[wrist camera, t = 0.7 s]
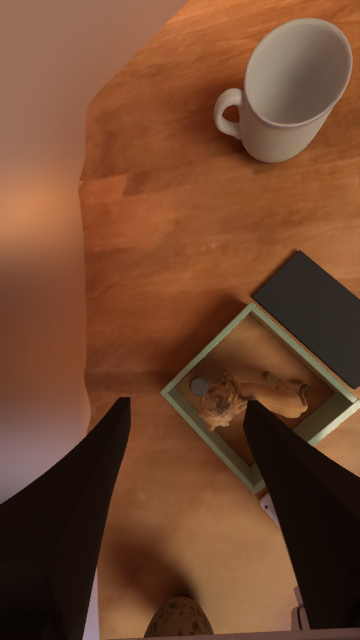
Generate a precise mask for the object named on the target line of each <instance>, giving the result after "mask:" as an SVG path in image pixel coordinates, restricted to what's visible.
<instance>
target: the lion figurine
mask: <svg viewBox="0 0 360 640" xmlns="http://www.w3.org/2000/svg"><path fill="white" fill-rule="evenodd" d="M222 376H223V379H225V380H221V379H220V380H218V381H217V383H213V384H212V385H211V386H210V387H209V389H208V390H206V391H205V394H204V395H203V397H201V398H200V401H199V407H198V410H199V414H198V416H199V417H201V418H203V419H204V420H205V425H206V428H207V429H208V430H209V431H213V430H214V428H215V427H216V426H219V425H220V426H222V427H224V426H229V421H230V420H231V419H232V418H233V416H235V415H236V414H239V413H240V412H241V410H243V409H246V408H247V403H248V400H258V401H259V402H260V403H262V404H263V405H264V406H265V407H266V408H267V409H268V410H270V411H273V412H276V413H278V414H280V415H282V416H284V417H286V418H297V417H299V416H300V415H301V413H302V412H305V411H306V410H307V408H308V405H307V402H306V400H305V398H304V391H305V390H306V388H307V387H308V386H309V385H308V384H303V385H302V386H301V387H300V389H299V396H300V398H299V396H298V395H297V394H296V393H295V392H294V391H293V390H292V389H291V388H289V387H287V386H286V385H285V384H284V383H283V382H282V381H281V380H280V379H278V378H277V377H276V376H275V375H274V374H272V373H270V372H269V373H267V374H266V379H267V380H269V381H272V382H275V383H276V390H273V389H270V388H267V387H265V386H262V385H259V384H252V383H241V384H240V383H239V382H238V381H236V380H235V379H234V378H233V376H232V375H231V374H230V373H229V372H224V373H223V375H222Z"/></svg>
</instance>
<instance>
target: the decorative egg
mask: <svg viewBox="0 0 360 640" xmlns="http://www.w3.org/2000/svg"><path fill="white" fill-rule="evenodd" d="M213 634H214V632H213V630H212V627H211V625H210V623H209V621H208V619H207V617H206V615H205V613H204V612H203V610H202V609H201V607H200V606H199V605H198V604H197V603H196V602H195V601H193V600H192V599H190V598H188V597H184V596H177V597H174V598H171V599H170V600H168V601H166V602H165V603H164V604H163V605H162V606H161V607H160V608H159V609H158V611H157V612H156V613H155V615H154V616H153V618H152V620H151V622H150V624H149V626H148V628H147V630H146V633H145V635H144V638H151V637H172V636H192V635H213Z"/></svg>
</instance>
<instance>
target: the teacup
mask: <svg viewBox="0 0 360 640" xmlns="http://www.w3.org/2000/svg"><path fill="white" fill-rule="evenodd" d="M352 61H353V56H352V52H351V48H350V44H349V42H348V40H347V39H346V37H345V34H344V33H343V32H342V31H341V30H340V29H339V28H338V27H336V26H335V25H333V24H331V23H330V22H326V21H324V20H322V19H317V18H301V19H295V20H292V21H289V22H286V23H284V24H283V25H281V26H279V27H277V28H275V29H274V30H272V31H271V32H270V33H268V34H267V35H266V36H265V37H264V38H263V39H262V40H261V41H260V43H259V44H258V45H257V46H256V48H255V49H254V51H253V52H252V55H251V56H250V58H249V61H248V63H247V67H246V71H245V77H244V90H243V91H242V90H240V89H236V88H231V89H228V90H226V91H224V92H223V93H222V94H221V95H220V96H219V98H218V100H217V101H216V104H215V107H214V121H215V124H216V126H217V128H218V129H219V130H220V131H221V132H223V133H225V134H227V135H231V136H235V138H236V139H238V140H242V143H243V145H244V147H245V149H246V150H247V152H248V153H249V154H250V155H251V156H252V157H254V158H255V159H257V160H259V161H262V162H267V163H277V162H282V161H285V160H287V159H290V158H292V157H293V156H295V155H297V154H298V153H299V152H301V151H302V150H303V149H304V148H305V147H306V146H307V145H308V144H309V143H310V142H311V141H312V139H313V138H314V137H315V135H316V134H317V132H318V131H319V129H320V128H321V126H322V125H323V123H324V121H325V120H326V118H327V117H328V115H329V113H330V112H331V110H332V108H333V107H334V105H335V104H336V103H337V102H338V100H339V99H340V98H341V96H342V95H343V93H344V91H345V89H346V87H347V84H348V82H349V78H350V75H351V71H352ZM231 105H236V106H237V107H238V110H239V115H240V121H239V123H235V122H230V121H227V120H225V119H224V118H223V117H222V113H223V111H224V110H225V108H227V107H228V106H231Z"/></svg>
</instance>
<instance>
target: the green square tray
mask: <svg viewBox="0 0 360 640" xmlns="http://www.w3.org/2000/svg"><path fill="white" fill-rule="evenodd" d="M248 313H249V314H250V315H251V316H252V317H253V318H254V319H256V320H257V321H258V322H259V323H260V324H261V325H262V326H263V327H264V328H265V329H266V330H267V331H269V332H270V333H271V334H272V335H273V336H274V337H275V338H276V339H277V340H278V341H279V342H280V343H281V344H283V345H284V346H285V347H286V348H287V349H288V350H289V351H290V352H291V353H292V354H293V355H294V356H296V357H297V358H298V359H299V360H300V361H301V362H302V363H303V364H304V365H305V366H306V367H307V368H308V369H310V370H311V371H312V372H313V373H314V374H315V375H316V376H317V377H318V378H319V379H320V380H321V381H323V382H324V383H325V384H326V385H327V386H328V387H329V388H330V389H331V390H332V391H333V392H334V393H335V394H333V395H332V396H331V397H330V398H329V399H328V400H326V401H325V402H324V403H323V404H322V405H321V406H319V407H318V408H317V409H316V410H315V411H314V412H313V413H311V414H310V415H309V416H308V417H307V418H306V419H304V420H303V421H302V422H301V423H300V424H299V425H297V426H296V427H295V428H294V429H293V431H294V432H295V433H296V434H297V435H299V436H300V437H301V438H302V439H304V440H305V441H306V442H307V443H309V444H310V445H311V446H314V445H316V444H317V443H318V442H319V441H320V440H322V439H323V438H324V437H325V436H326V435H328V434H329V433H330V432H331V431H332V430H334V429H335V428H336V427H337V426H338V425H340V424H341V423H342V422H343V421H344V420H346V419H347V418H348V417H349V416H350V415H352V414H353V413H354V412H355V411H356V410H358V409H359V408H360V400H359V399H357V398H356V397H355V396H354V395H353V394H352V393H351V392H350V391H349V390H348V389H347V388H345V387H344V386H343V385H342V384H341V383H340V382H339V381H338V380H337V379H336V378H334V377H333V376H332V375H331V374H330V373H329V372H328V371H327V370H326V369H325V368H324V367H322V366H321V365H320V364H319V363H318V362H317V361H316V360H315V359H314V358H313V357H311V356H310V355H309V354H308V353H307V352H306V351H305V350H304V349H303V348H302V347H301V346H299V345H298V344H297V343H296V342H295V341H294V340H293V339H292V338H291V337H290V336H288V335H287V334H286V333H285V332H284V331H283V330H282V329H281V328H280V327H279V326H277V325H276V324H275V323H274V322H273V321H272V320H271V319H270V318H269V317H268V316H267V315H265V314H264V313H263V312H262V311H261V310H260V309H259V308H258V307H257V306H256V305H254V304H253V303H252V302H250V303H248V304H247V305H246V306H245V307H244V308H243V309H242V310H241V311H240V312H239V313H238V314H237V315H236V316H235V317H233V318H232V319H231V320H230V321H229V322H228V323H227V324H226V325H225V326H224V327H223V328H222V329H221V330H220V331H219V332H218V333H217V334H216V335H215V336H214V337H213V338H212V339H211V340H210V341H209V342H208V343H207V344H206V345H205V346H204V347H203V348H202V349H201V350H200V351H199V352H198V353H197V354H196V355H195V356H194V357H193V358H192V359H191V360H190V361H189V362H188V363H187V364H186V365H185V366H184V367H183V368H182V369H181V370H180V371H179V372H178V373H177V374H176V375H175V376H174V377H173V378H172V379H171V380H170V381H169V382H168V383H167V384H166V385H165V386H164V388H163V389H162V390H161V392H160V393H161V394H162V396H163V397H164V398H165V399H166V400H167V401H168V402H169V403H170V404H171V405H172V406H173V408H174V409H175V410H176V411H177V412H178V413H179V414H180V415H181V416H182V417H183V418H184V420H185V421H186V422H187V423H188V424H189V425H190V426H191V427H192V428H193V429H194V430H195V432H196V433H197V434H198V435H199V436H200V437H201V438H202V439H203V440H204V441H205V442H206V443H207V445H208V446H209V447H210V448H211V449H212V450H213V451H214V452H215V453H216V454H217V455H218V457H219V458H220V459H221V460H222V461H223V462H224V463H225V464H226V465H227V466H228V467H229V469H230V470H231V471H232V472H233V473H234V474H235V475H236V476H237V477H238V478H239V479H240V481H241V482H242V483H243V484H244V485H245V486H246V487H247V488H248V489H249V490H250V491H251V493H252V494H253V495H256V494H257V493H258V492H259V491H260V490H262V489H263V488H264V487H265V486H266V485H265V482H264V480H263V478H262V475H261V473H260V471H259V468H258V466H257V464H256V462H254V463H253V464H252V465H251V466H250V467H249V466H248V465H247V464H246V463H245V462H244V461H243V460H242V459H241V458H240V457H239V456H238V454H237V453H236V452H235V451H234V450H233V449H232V448H231V447H230V446H229V445H228V444H227V443H226V442H225V441H224V440H223V438H222V437H221V436H220V435H219V434H218V433H217V432H216V431H215V430H213V431H209V430H208V429H207V428H206V425H205V420H204V419H203V418H201V417H199V416H198V414H199V413H198V412H197V411H196V410H195V409H194V408H193V406H192V405H191V404H190V403H189V402H188V401H187V400H186V399H185V398H184V397H183V396H182V395H181V394H180V393H179V391H178V390H177V389H176V388H175V387H174V386H175V385H176V384H177V383H178V382H179V381H180V380H181V379H182V378H183V377H184V376H185V375H186V374H187V373H188V372H189V371H190V370H191V369H192V368H193V367H194V366H195V365H196V364H197V363H199V362H200V361H201V360H202V359H203V358H204V357H205V356H206V355H207V354H208V353H209V352H210V351H211V350H212V349H213V348H214V347H215V346H216V345H217V344H218V343H219V342H220V341H221V340H222V339H223V338H224V337H225V336H226V335H227V334H228V333H229V332H230V331H231V330H232V329H233V328H234V327H235V326H236V325H237V324H238V323H239V322H240V321H241V320H242V319H243V318H244V317H245V316H246V315H247V314H248ZM208 389H209V384H208V382H207V381H206V380H205V379H204V378H201V377H197V378H195V379H194V380H193V381H192V382H191V390H192V392H193V393H194V394H195V395H197V396H203V395H204V394H205V391H206V390H208Z"/></svg>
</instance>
